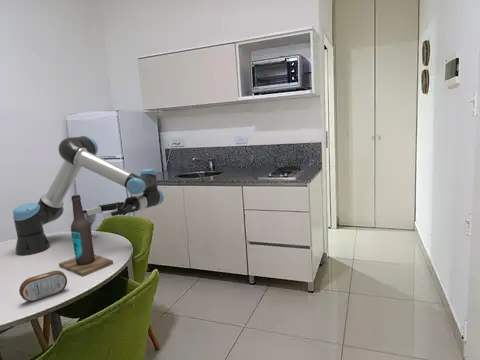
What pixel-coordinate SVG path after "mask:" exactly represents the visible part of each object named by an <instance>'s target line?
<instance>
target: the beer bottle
mask: <svg viewBox="0 0 480 360" xmlns="http://www.w3.org/2000/svg"><path fill="white" fill-rule="evenodd" d="M70 201H71V203H72V215H73V219H72V222H71V224H70V231H71V238H72V239H71V240H72V246H73V253H74V258H76V263H77V264H78V265H86V264H89V263H92V262H93V261H94V260H95V257H94V254H95V253H94V251H95V249H94V245H93V239H92V237H91V233H92V229H91V230H90V224H89V222H88V221H87V220H86V219H85V217H84V214H83V210H84V209H83V205H82V201H81V195H80V194H74V195H71V200H70Z"/></svg>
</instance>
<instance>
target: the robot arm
mask: <svg viewBox="0 0 480 360" xmlns="http://www.w3.org/2000/svg"><path fill="white" fill-rule="evenodd" d="M98 151H99V148H98V145H97V142H96V141H95V139H94V138H92V137H90V136H84V135H81V136H74V137H73V136H71V137H67V138H64V139H63V140H61V141H60V143H59V145H58V153H59V155H60V157H61V159H63V160H64V161H63V163H62V164H61V166H60V169H59V170H58V173H56V175H55V178H54V180H53V182H51V185H50V187H49V189H48V190H47V193H45V194H43V195H41V196H40V198H39V200H38V202H28V203H24V204H20V205H18V206H16V207H14V209H13V211H12V218H13V222H14V227H15V232H16V236H17V237H16V238H17V239H16V243H15V244H16V245H15V250H14V251H15V254H16V255H17V256H28V255H34V254H38V253H41V252H44V251H46V250H49V248H50V247H51V244H50V241H49V238H47V236H46V234H45V231H44V225H47V224H49V223H52V222H54V221H56V220H57V219H59V218H60V217H61V216H62V215H63V213H64V210H65V208H64V199H65V197H66V195H67V194H68V193H69V190H70V188H71V186H72V185H73V183H74V181H75V179H76V178H77V176H78V174H79V173H80V171H81V169H82V168H85V169H86V170H88V171H91V172H93V173H95V174H97V175H99V176H101V177H104V178H105V179H106V180H107V179H108V180H109V181H112V182H113V183H116V184H118V185H120V186H123V187H124V188H126V190H127V191H128V192H129V193H130V194H131V195H134V196H130V197H129V196H128V197H127V198H125V200H124V201H121V202H120V201H118V202H113V203H106V204H99V205H98V206H96V207H92V208H90V209H89V208H88V209H86V210H87V214H88V216H89V215H93V214H96V215H97V214H103V220H106V219H107V220H108V219H110V218H113V217H116V216H117V217H118V216H126V215H127V214H129V213H130V214H131V213H134V212H139V211H143V210H145V209H148V208H151V207H156V206H158V205H161V204H162V203H163V202H164V198H165V197H164V194H163V192H162V191H161V190H159V188H158V181H157V180H158V179H157V172H156V169H154V168H145V169H141V170H140V175H138V174H135V173H133V172H132V171H129V170H128V169H125V168H123V167H121V166H118V165H117V164H114V163H112V162H110V161H108V160H106V159H105V158H102V157H100V156H98V155H97V154H98Z"/></svg>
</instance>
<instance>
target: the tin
mask: <svg viewBox="0 0 480 360" xmlns="http://www.w3.org/2000/svg"><path fill="white" fill-rule="evenodd" d="M67 285H68V278H67V276H66V274H65V273H64V272H63V271H60V270H51V271H48V272H45V273H42V274H37V275H35V276H31V277H28V278H26V279H25V280H24V281H23V282H22V283H21V284H20V286H19V295H20V296H21V298H22V299H23V300H24V301H26V302H36V301H40V300H42V299H45V298H48V297H52V296H53V295H54V296H55V295H58V294H60V293H61V292H63V291H64V290H65V288H66V287H67Z"/></svg>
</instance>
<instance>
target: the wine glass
mask: <svg viewBox="0 0 480 360" xmlns="http://www.w3.org/2000/svg"><path fill="white" fill-rule="evenodd" d="M87 210H88V209H83V214H84V217H85V219H86V220H87V221H88V222H89V224H90V230H91V231H92V226H93V224H94V223H95V221H96V218H97V214H93V215H89V216H88V214H87ZM91 237H92V240H94V239H97V238H98V237H99V235H98V234H92V232H91Z"/></svg>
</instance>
